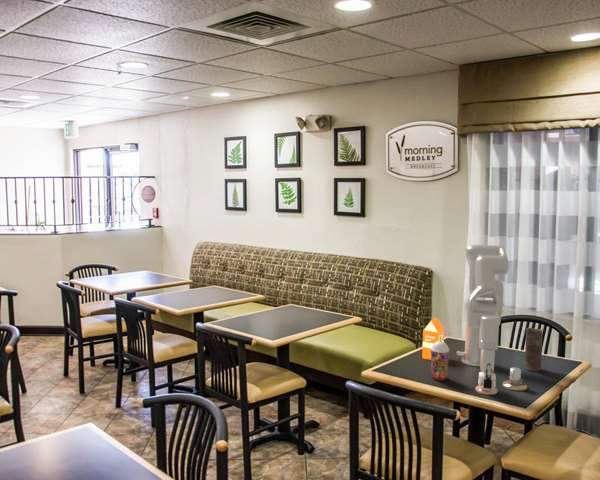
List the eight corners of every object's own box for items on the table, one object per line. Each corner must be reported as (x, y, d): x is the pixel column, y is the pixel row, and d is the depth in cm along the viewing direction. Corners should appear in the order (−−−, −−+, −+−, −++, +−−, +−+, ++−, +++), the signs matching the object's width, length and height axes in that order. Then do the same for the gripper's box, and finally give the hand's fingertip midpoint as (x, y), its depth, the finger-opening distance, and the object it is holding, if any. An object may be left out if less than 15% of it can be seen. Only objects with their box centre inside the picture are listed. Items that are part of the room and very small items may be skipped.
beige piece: (500, 387, 243) (500, 369, 242) (505, 380, 251) (506, 363, 250) (524, 392, 237) (525, 374, 236) (529, 385, 246) (530, 367, 245)
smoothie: (438, 382, 248) (439, 339, 246) (425, 376, 255) (427, 334, 253) (452, 379, 252) (454, 336, 250) (439, 374, 259) (441, 332, 257)
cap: (477, 382, 243) (478, 368, 242) (494, 383, 241) (494, 369, 241) (479, 387, 236) (479, 373, 236) (496, 389, 235) (496, 374, 234)
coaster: (472, 391, 238) (472, 389, 238) (478, 385, 245) (478, 383, 245) (494, 396, 233) (494, 394, 233) (499, 389, 240) (499, 387, 240)
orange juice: (422, 358, 282) (423, 319, 280) (428, 353, 290) (430, 316, 288) (436, 361, 278) (438, 321, 276) (443, 356, 285) (444, 318, 283)
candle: (520, 367, 269) (522, 327, 267) (532, 365, 272) (534, 325, 270) (533, 372, 262) (535, 331, 260) (544, 370, 265) (547, 329, 263)
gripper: (477, 338, 246) (475, 377, 248) (481, 349, 229) (479, 391, 231) (495, 339, 244) (493, 379, 246) (500, 351, 228) (498, 393, 230)
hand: (486, 384), depth 239 cm, fingers closed on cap, 6 cm apart
